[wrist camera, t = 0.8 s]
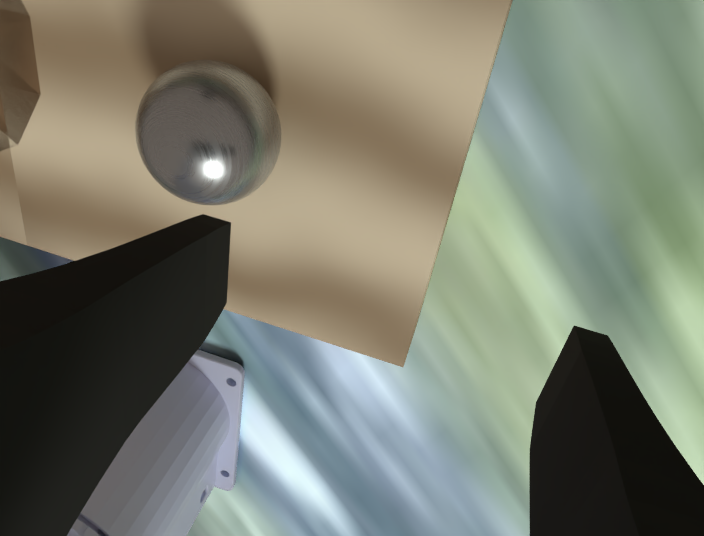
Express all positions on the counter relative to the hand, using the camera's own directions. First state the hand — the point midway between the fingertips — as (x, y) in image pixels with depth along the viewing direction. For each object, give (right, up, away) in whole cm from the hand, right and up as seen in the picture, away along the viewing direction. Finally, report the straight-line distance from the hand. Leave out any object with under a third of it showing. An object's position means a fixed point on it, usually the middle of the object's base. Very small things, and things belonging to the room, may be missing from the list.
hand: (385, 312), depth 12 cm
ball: (-5, +5, +5) cm, 8 cm away
